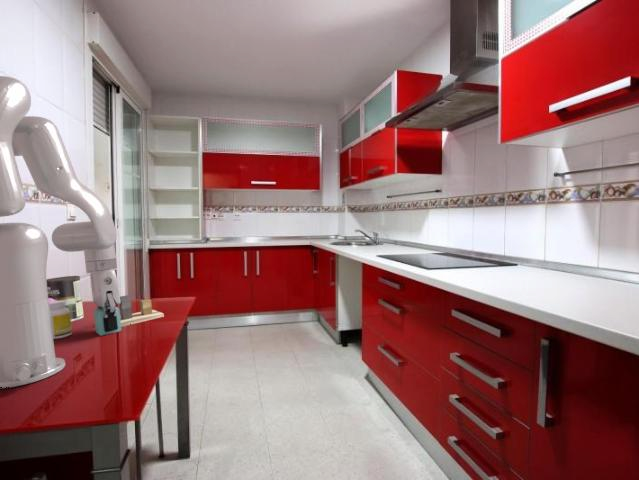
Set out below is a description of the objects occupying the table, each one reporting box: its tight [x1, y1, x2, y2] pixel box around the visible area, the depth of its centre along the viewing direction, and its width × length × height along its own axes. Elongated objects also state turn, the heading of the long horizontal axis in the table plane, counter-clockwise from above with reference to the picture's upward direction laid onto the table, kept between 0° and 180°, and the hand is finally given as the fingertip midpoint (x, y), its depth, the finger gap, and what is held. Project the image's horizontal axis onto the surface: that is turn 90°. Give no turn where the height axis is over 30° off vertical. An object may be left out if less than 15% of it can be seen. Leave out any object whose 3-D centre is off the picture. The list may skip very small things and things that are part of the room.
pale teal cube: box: [93, 306, 122, 337], centre depth 103 cm, size 5×5×7 cm
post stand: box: [118, 294, 165, 328], centre depth 114 cm, size 10×13×8 cm
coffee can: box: [46, 275, 85, 323], centre depth 120 cm, size 10×10×14 cm
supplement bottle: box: [49, 301, 73, 340], centre depth 101 cm, size 5×5×10 cm
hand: (108, 328), depth 103 cm, fingers closed on pale teal cube, 5 cm apart
